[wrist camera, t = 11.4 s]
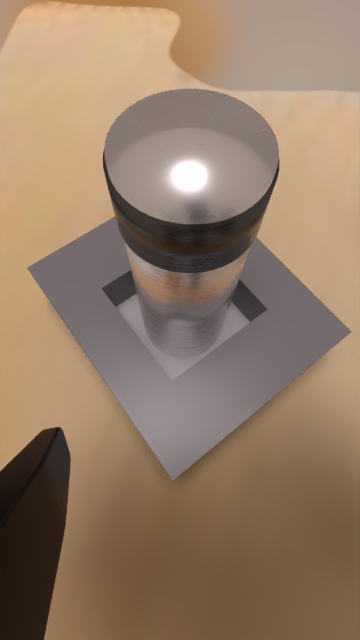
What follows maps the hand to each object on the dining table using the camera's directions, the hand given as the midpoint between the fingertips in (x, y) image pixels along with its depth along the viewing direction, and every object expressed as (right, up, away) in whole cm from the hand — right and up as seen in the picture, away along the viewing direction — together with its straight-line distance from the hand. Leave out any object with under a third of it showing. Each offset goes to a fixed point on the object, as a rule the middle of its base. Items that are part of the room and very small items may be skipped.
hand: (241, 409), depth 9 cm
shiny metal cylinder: (-1, +2, +13) cm, 13 cm away
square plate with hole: (-1, +2, +14) cm, 14 cm away
